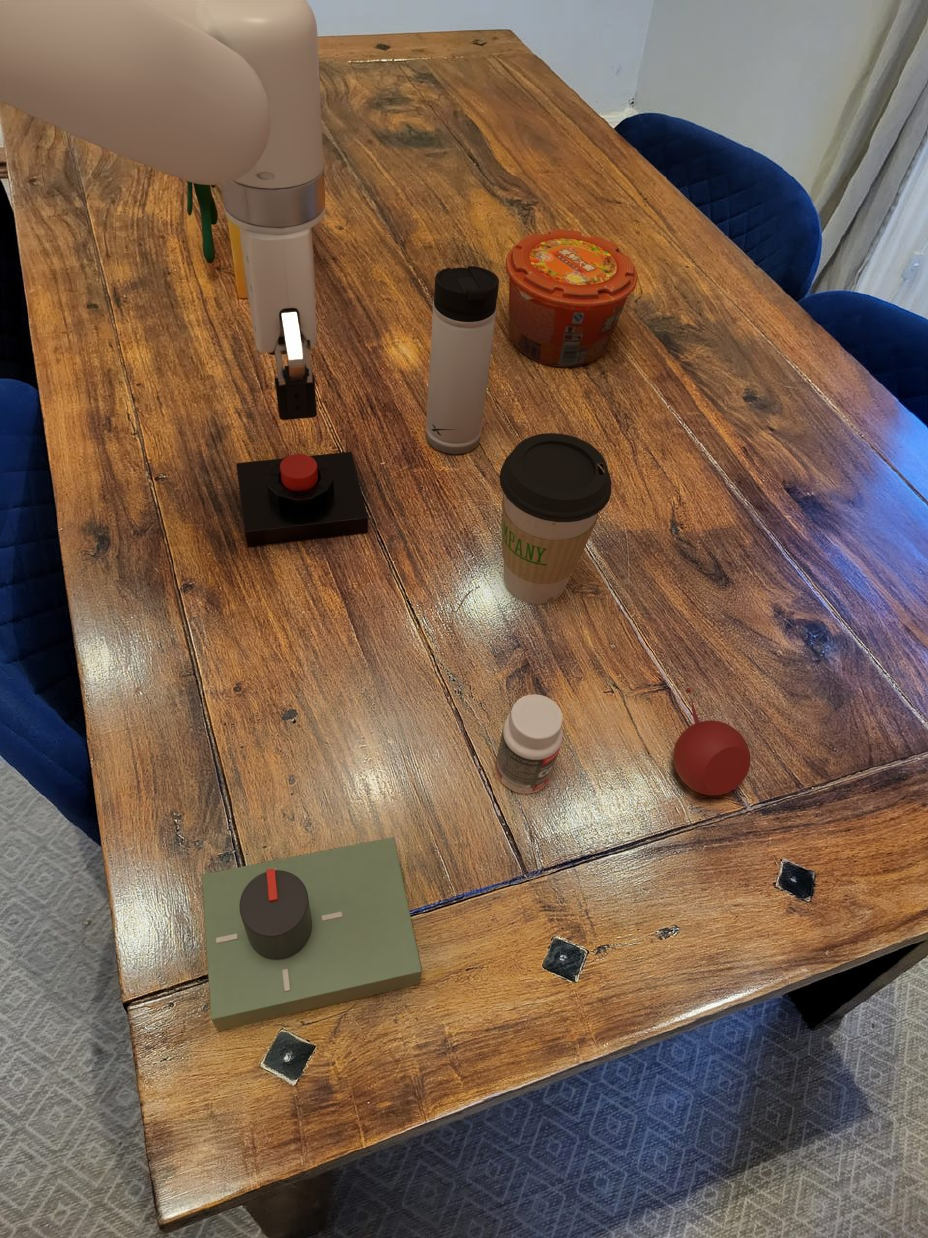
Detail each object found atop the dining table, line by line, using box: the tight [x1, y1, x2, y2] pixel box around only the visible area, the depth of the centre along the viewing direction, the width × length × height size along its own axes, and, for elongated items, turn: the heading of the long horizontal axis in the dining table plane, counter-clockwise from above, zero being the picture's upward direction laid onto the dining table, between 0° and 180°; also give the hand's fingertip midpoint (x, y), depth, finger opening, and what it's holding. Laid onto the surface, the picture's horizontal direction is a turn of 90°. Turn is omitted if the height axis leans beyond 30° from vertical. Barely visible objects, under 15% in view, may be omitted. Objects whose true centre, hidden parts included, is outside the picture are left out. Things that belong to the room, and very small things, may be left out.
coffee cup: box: [499, 432, 613, 605], centre depth 81 cm, size 10×10×15 cm
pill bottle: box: [495, 693, 564, 795], centre depth 70 cm, size 5×5×8 cm
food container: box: [505, 229, 639, 368], centre depth 108 cm, size 16×16×11 cm
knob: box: [239, 869, 312, 960], centre depth 59 cm, size 4×4×5 cm
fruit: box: [673, 687, 751, 796], centre depth 73 cm, size 6×6×8 cm
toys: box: [186, 181, 248, 300], centre depth 108 cm, size 18×12×24 cm
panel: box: [201, 836, 423, 1032], centre depth 62 cm, size 14×10×3 cm
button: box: [280, 453, 318, 491], centre depth 87 cm, size 4×4×2 cm
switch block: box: [235, 451, 369, 548], centre depth 89 cm, size 12×10×4 cm
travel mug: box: [424, 265, 500, 455], centre depth 91 cm, size 6×7×20 cm
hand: (291, 382), depth 78 cm, fingers open, 8 cm apart
